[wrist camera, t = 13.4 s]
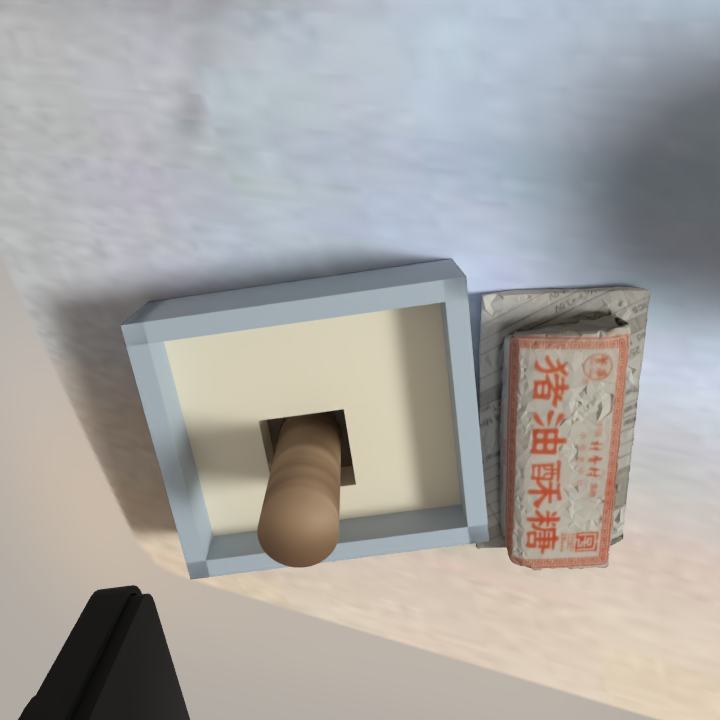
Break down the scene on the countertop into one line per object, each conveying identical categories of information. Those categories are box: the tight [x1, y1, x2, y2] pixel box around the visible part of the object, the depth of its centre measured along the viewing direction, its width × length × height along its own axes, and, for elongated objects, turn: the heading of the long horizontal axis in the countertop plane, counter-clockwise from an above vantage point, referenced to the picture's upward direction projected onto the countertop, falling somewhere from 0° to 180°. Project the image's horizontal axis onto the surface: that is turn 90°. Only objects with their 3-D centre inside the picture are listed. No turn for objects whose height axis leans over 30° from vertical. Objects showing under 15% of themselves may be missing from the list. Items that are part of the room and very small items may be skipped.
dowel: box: [257, 411, 341, 567], centre depth 37 cm, size 4×4×11 cm
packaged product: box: [476, 287, 650, 570], centre depth 40 cm, size 18×5×10 cm
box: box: [120, 259, 489, 579], centre depth 39 cm, size 16×18×5 cm
